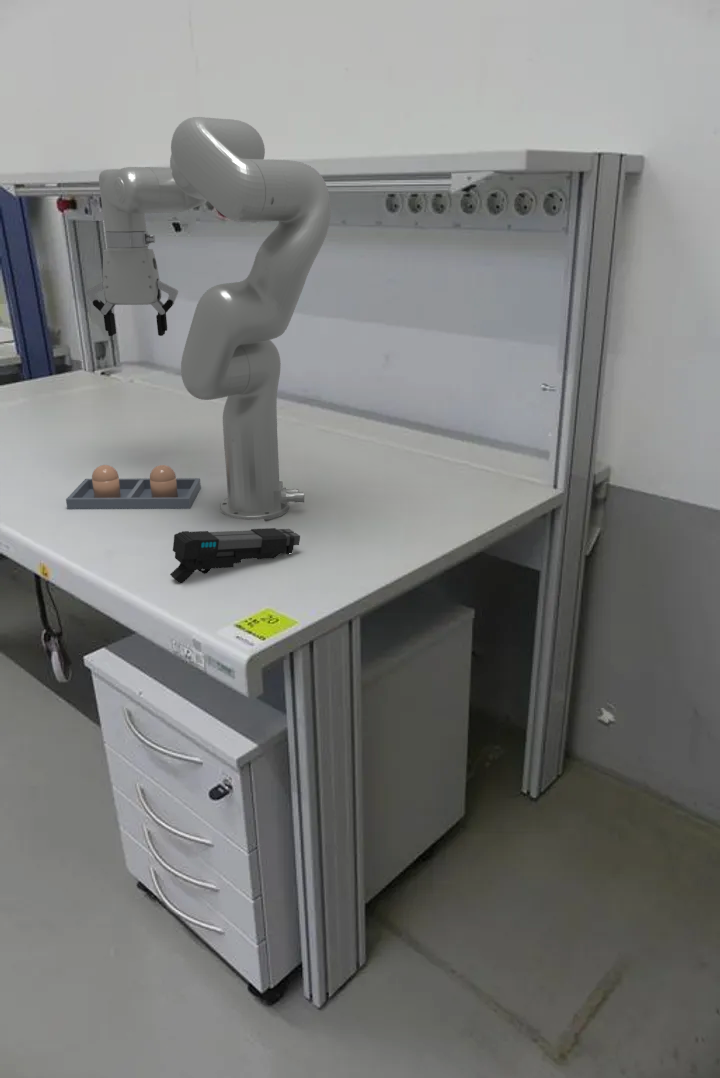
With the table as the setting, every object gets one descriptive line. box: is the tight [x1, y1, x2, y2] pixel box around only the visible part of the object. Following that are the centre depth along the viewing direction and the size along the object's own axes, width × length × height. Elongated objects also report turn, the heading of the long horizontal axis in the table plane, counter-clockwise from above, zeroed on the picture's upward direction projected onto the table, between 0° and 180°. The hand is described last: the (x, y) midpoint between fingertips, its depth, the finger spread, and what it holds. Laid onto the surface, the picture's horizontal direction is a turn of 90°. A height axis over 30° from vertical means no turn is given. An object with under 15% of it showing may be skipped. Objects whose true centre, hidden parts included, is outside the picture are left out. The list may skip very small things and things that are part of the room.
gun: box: [169, 527, 301, 585], centre depth 126 cm, size 4×20×10 cm, turn 125°
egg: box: [91, 464, 121, 498], centre depth 152 cm, size 5×5×6 cm
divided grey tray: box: [65, 477, 202, 510], centre depth 153 cm, size 22×12×2 cm, turn 90°
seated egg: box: [149, 464, 178, 498], centre depth 152 cm, size 5×5×6 cm
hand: (137, 334), depth 158 cm, fingers open, 9 cm apart
